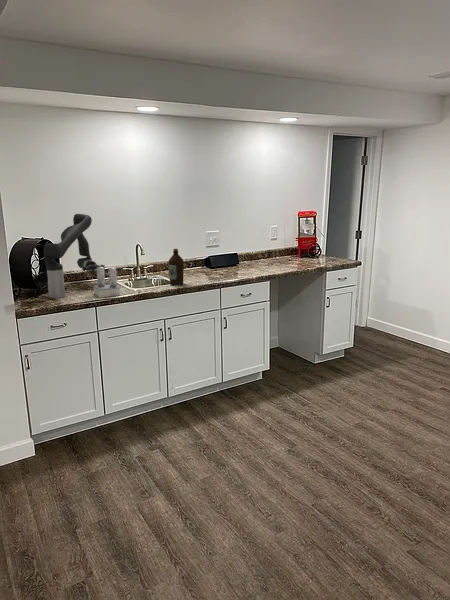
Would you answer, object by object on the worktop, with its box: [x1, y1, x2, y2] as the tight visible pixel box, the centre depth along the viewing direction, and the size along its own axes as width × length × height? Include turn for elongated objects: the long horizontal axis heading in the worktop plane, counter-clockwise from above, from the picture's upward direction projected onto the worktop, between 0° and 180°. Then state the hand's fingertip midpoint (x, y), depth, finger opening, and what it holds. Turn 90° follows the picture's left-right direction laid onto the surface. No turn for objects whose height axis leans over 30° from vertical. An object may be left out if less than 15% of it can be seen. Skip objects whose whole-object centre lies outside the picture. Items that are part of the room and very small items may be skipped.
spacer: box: [96, 267, 106, 287], centre depth 290 cm, size 5×5×12 cm
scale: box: [93, 283, 121, 298], centre depth 290 cm, size 13×12×5 cm
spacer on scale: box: [108, 267, 118, 288], centre depth 287 cm, size 5×5×12 cm
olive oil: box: [167, 248, 185, 286], centre depth 316 cm, size 11×11×25 cm
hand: (95, 269), depth 299 cm, fingers open, 8 cm apart
